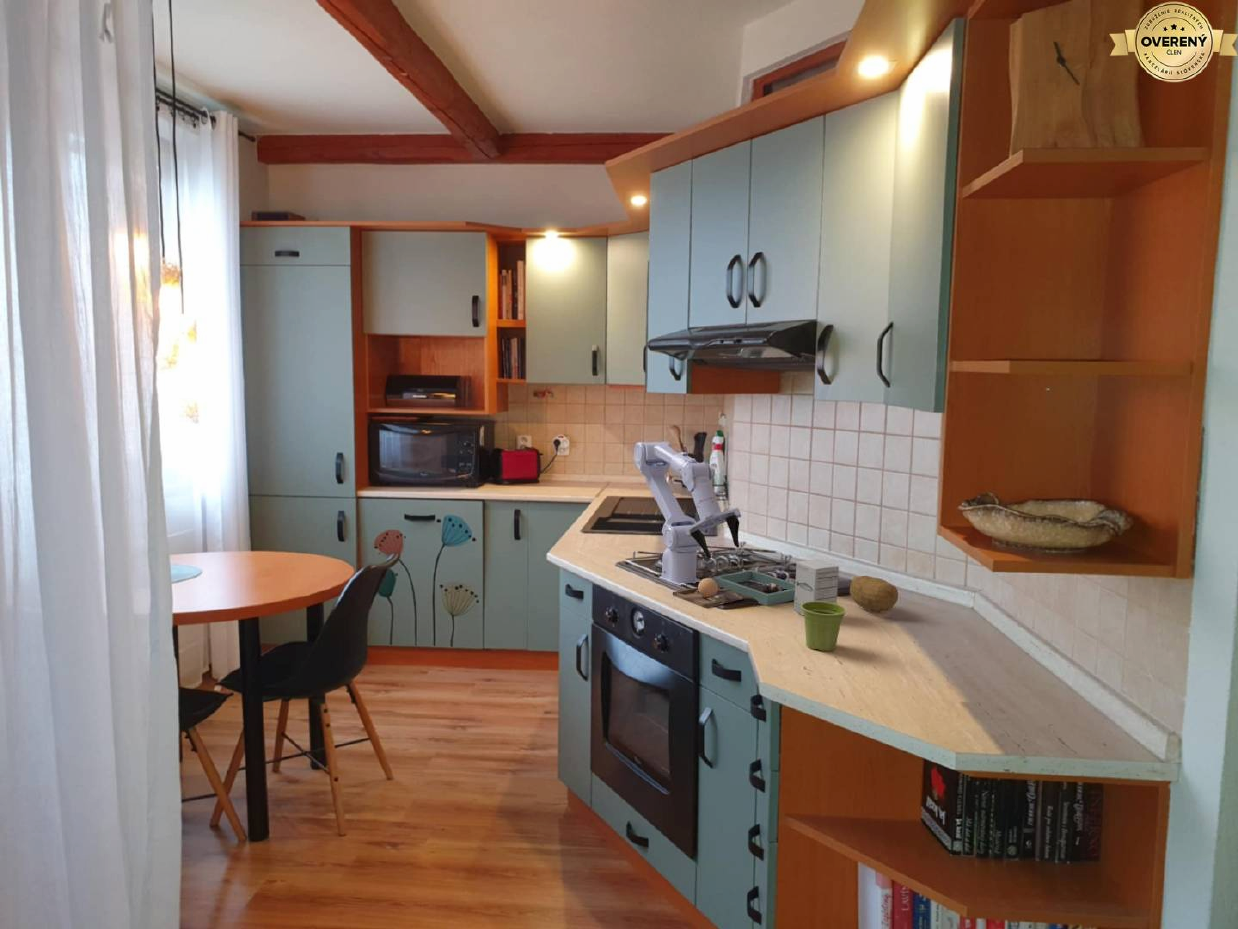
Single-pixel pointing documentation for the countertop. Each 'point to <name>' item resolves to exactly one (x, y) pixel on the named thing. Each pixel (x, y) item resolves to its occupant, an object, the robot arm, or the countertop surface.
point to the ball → (707, 587)
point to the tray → (766, 599)
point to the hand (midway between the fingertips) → (723, 551)
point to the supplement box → (815, 583)
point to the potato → (873, 593)
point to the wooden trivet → (697, 598)
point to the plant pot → (822, 624)
